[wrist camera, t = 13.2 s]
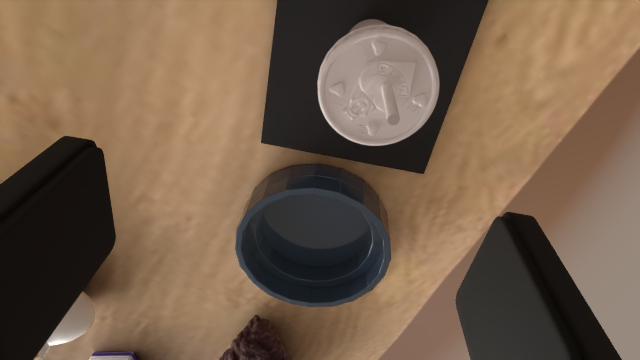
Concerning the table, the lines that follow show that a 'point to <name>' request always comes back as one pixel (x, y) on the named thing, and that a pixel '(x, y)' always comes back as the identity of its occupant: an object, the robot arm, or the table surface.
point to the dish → (314, 236)
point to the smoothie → (378, 84)
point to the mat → (321, 35)
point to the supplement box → (113, 356)
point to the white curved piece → (71, 324)
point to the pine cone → (256, 343)
